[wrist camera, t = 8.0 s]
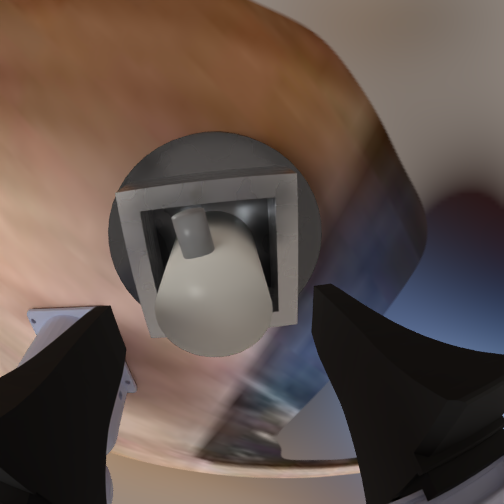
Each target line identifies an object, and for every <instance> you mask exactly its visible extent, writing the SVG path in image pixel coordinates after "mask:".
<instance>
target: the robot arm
mask: <svg viewBox="0 0 504 504" xmlns="http://www.w3.org/2000/svg"><path fill="white" fill-rule="evenodd" d="M27 316H28V318H29V321H30V323H31V325H32V327H33V329H34V331H35V333H36V335H37V336H36V337H35V339H34V340H33V342H32V344H31V345H30V347H29V348H28V350H27V351H26V353H25V355H24V356H23V358H22V360H21V361H20V363H19V365H18V366H17V368H16V369H14V370H13V371H11V372H9V373H7V374H6V375H4V376H2V377H0V504H111V503H112V498H113V484H112V479H111V476H110V472H109V470H108V467H107V466H106V455H107V454H108V453H109V452H110V451H111V450H112V448H113V447H114V445H115V443H116V440H117V436H118V431H119V426H120V421H121V417H122V412H123V408H124V404H125V399H126V395H127V393H135V392H136V391H137V386H136V384H135V382H134V380H133V378H132V375H131V373H130V371H129V369H128V366H127V364H126V362H125V356H126V347H125V344H124V342H123V339H122V337H121V334H120V331H119V329H118V326H117V323H116V320H115V317H114V315H113V312H112V309H111V306H94V307H74V308H49V309H29V311H28V312H27ZM312 335H313V339H314V342H315V345H316V349H317V352H318V355H319V357H320V360H321V362H322V364H323V366H324V368H325V371H326V373H327V375H328V377H329V379H330V381H331V384H332V386H333V388H334V390H335V392H336V394H337V397H338V399H339V401H340V403H341V406H342V409H343V411H344V414H345V417H346V420H347V424H348V427H349V430H350V433H351V437H352V441H353V444H354V448H355V452H356V455H357V460H358V464H359V468H360V473H361V477H362V481H363V487H364V492H365V498H366V504H504V429H503V428H504V417H503V416H502V415H503V414H504V355H502V354H495V353H487V352H480V351H474V350H470V349H465V348H460V347H457V346H453V345H450V344H446V343H443V342H440V341H437V340H434V339H431V338H429V337H426V336H423V335H421V334H419V333H416V332H414V331H412V330H409V329H407V328H405V327H403V326H401V325H399V324H397V323H395V322H393V321H391V320H389V319H387V318H386V317H384V316H382V315H380V314H379V313H377V312H375V311H373V310H372V309H370V308H368V307H367V306H365V305H364V304H362V303H361V302H359V301H357V300H356V299H354V298H353V297H351V296H350V295H348V294H347V293H345V292H344V291H342V290H340V289H339V288H337V287H336V286H334V285H332V284H325V285H317V286H314V298H313V317H312Z"/></svg>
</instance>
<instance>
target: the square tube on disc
mask: <svg viewBox="0 0 504 504" xmlns="http://www.w3.org/2000/svg"><path fill="white" fill-rule="evenodd" d="M115 194H116V197H115V199H114V202H113V205H112V209H111V213H110V218H109V228H108V236H109V247H110V253H111V257H112V260H113V263H114V266H115V269H116V271H117V273H118V275H119V277H120V279H121V281H122V283H123V284H124V286H125V287H126V289H127V290H128V292H129V293H130V294H131V295H132V296H133V297H134V299H135V300H136V301H137V302H138V303H139V304H141V307H142V310H143V313H144V317H145V320H146V323H147V327H148V330H149V333H150V336H151V338H161V337H166V336H165V334H164V333H163V332H162V330H161V328H160V327H159V325H158V322H157V319H156V315H155V301H156V297H157V293H158V290H159V287H160V284H161V281H162V278H163V275H164V272H165V268H166V265H167V262H168V259H169V257H170V254H171V251H172V248H173V245H174V242H175V239H176V236H177V235H176V232H175V229H174V225H173V222H172V219H171V218H172V217H173V216H174V215H175V214H177V213H179V212H181V211H184V210H187V209H191V208H198V207H201V208H204V210H205V212H207V211H223V212H227V213H230V214H232V215H234V216H236V217H238V218H239V219H241V220H242V221H243V222H244V223H245V224H246V225H247V226H248V228H249V229H250V231H251V233H252V235H253V238H254V242H255V245H256V249H257V252H258V256H259V259H260V262H261V266H262V269H263V273H264V276H265V280H266V283H267V287H268V290H269V293H270V297H271V300H272V307H273V311H272V319H271V322H270V325H269V327H268V328H270V327H278V326H286V325H293V324H297V311H298V295H299V294H300V292H301V291H302V290H303V288H304V287H305V285H306V284H307V282H308V280H309V279H310V277H311V275H312V273H313V271H314V268H315V265H316V263H317V260H318V256H319V252H320V247H321V236H322V233H321V219H320V214H319V209H318V206H317V203H316V200H315V197H314V194H313V192H312V190H311V189H310V187H309V185H308V183H307V181H306V180H305V179H304V177H303V176H302V174H301V173H300V171H299V170H298V169H297V168H296V167H295V166H294V165H293V164H292V163H291V162H290V161H289V160H288V159H287V158H285V157H284V156H283V155H281V154H280V153H279V152H278V151H276V150H274V149H273V148H271V147H269V146H267V145H266V144H264V143H261V142H259V141H256V140H254V139H252V138H249V137H246V136H243V135H239V134H235V133H230V132H221V131H213V132H201V133H195V134H191V135H188V136H185V137H182V138H179V139H176V140H173V141H170V142H168V143H166V144H164V145H162V146H160V147H159V148H157V149H155V150H154V151H153V152H151V153H150V154H148V155H147V156H145V157H144V158H143V159H142V160H141V161H140V162H139V163H138V164H137V165H136V166H135V167H134V168H133V169H132V170H131V172H130V173H129V174H128V175H127V177H126V178H125V180H124V181H123V183H122V185H121V186H120V188H119V190H118V191H117V192H116V193H115Z"/></svg>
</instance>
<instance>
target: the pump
mask: <svg viewBox="0 0 504 504" xmlns="http://www.w3.org/2000/svg"><path fill="white" fill-rule="evenodd" d="M171 219H172V222H173V225H174V229H175V232H176V235H177V236H176V239H175V242H174V245H173V248H172V251H171V254H170V257H169V259H168V262H167V265H166V268H165V272H164V275H163V278H162V281H161V284H160V287H159V290H158V293H157V297H156V301H155V315H156V319H157V322H158V325H159V327H160V328H161V330H162V332H163V333H164V334H165V336H166V337H167V338H168V339H169V340H170V341H171V342H172V343H174V344H175V345H176V346H178V347H179V348H181V349H183V350H185V351H187V352H190V353H192V354H196V355H199V356H205V357H224V356H230V355H234V354H237V353H240V352H242V351H244V350H246V349H248V348H250V347H251V346H253V345H254V344H255V343H256V342H258V341H259V340H260V339H261V338H262V336H263V335H264V334H265V332H266V331H267V329H268V327H269V325H270V322H271V319H272V311H273V307H272V300H271V297H270V293H269V290H268V287H267V283H266V280H265V276H264V273H263V269H262V266H261V262H260V259H259V256H258V252H257V249H256V245H255V242H254V238H253V235H252V233H251V231H250V229H249V228H248V226H247V225H246V224H245V223H244V222H243V221H242V220H241V219H239V218H238V217H236V216H234V215H232V214H230V213H227V212H223V211H207V212H205V210H204V208H201V207H198V208H191V209H187V210H184V211H181V212H179V213H177V214H175V215H174V216H173V217H172V218H171Z"/></svg>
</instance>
